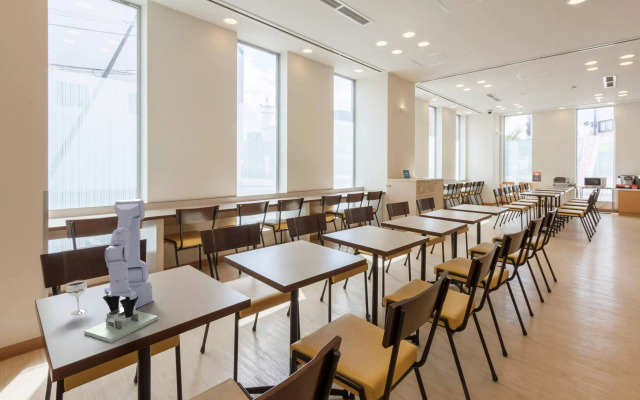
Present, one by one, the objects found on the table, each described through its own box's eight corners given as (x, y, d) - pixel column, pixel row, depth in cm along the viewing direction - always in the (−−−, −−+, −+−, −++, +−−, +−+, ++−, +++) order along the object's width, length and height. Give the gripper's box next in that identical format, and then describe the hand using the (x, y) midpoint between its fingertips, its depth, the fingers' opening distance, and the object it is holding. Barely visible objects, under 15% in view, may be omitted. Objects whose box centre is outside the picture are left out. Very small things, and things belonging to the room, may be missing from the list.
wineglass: (82, 315, 128) (79, 285, 127) (63, 316, 128) (61, 286, 126) (92, 308, 135) (90, 279, 134) (75, 308, 134) (72, 280, 133)
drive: (128, 317, 123) (128, 304, 122) (136, 319, 121) (135, 306, 121) (107, 327, 116) (106, 313, 115) (114, 329, 114) (113, 315, 113)
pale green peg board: (132, 312, 130) (132, 303, 129) (157, 319, 124) (157, 309, 124) (84, 334, 113) (83, 323, 113) (110, 342, 108) (109, 331, 107)
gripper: (94, 279, 116) (97, 316, 118) (121, 285, 110) (124, 323, 112) (114, 273, 123) (117, 308, 124) (140, 278, 117) (143, 315, 118)
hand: (122, 315), depth 118 cm, fingers open, 7 cm apart
